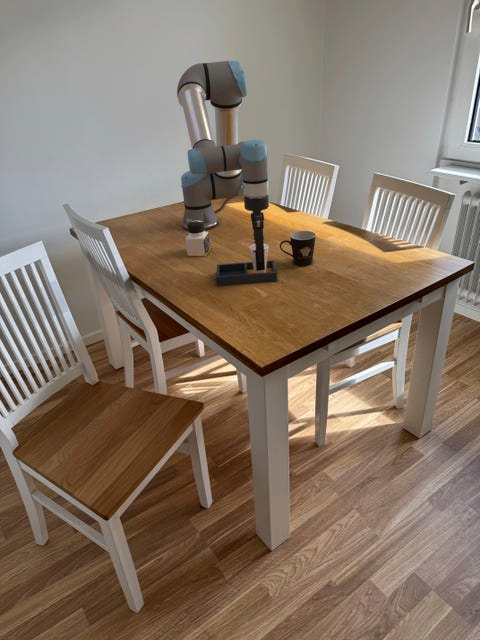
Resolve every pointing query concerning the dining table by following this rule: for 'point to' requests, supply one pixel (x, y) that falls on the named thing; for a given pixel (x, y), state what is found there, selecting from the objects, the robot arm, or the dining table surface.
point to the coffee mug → (301, 247)
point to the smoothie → (253, 256)
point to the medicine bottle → (197, 239)
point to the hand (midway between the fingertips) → (259, 264)
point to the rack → (244, 273)
